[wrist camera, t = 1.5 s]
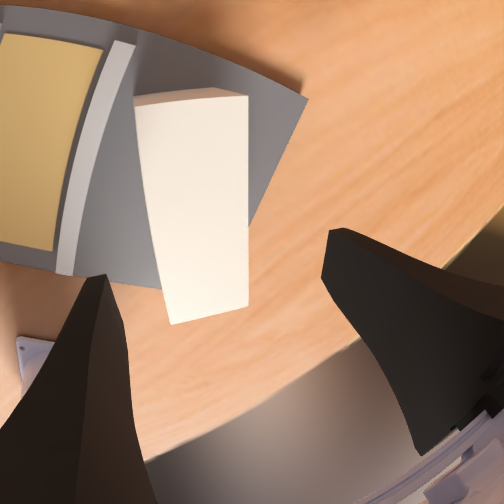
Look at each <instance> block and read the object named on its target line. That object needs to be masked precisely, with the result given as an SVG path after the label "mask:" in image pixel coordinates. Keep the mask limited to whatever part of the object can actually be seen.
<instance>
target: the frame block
mask: <svg viewBox="0 0 504 504" xmlns="http://www.w3.org/2000/svg"><path fill="white" fill-rule="evenodd" d="M133 101H134V113H135V124H136V134H137V143H138V152H139V160H140V168H141V175H142V182H143V189H144V196H145V202H146V209H147V215H148V221H149V227H150V232H151V238H152V243H153V249H154V254H155V259H156V264H157V269H158V273H159V278H160V283H161V287H162V291H163V296H164V300H165V304H166V308H167V312H168V316H169V320H170V324H171V325H172V324H177V323H181V322H186V321H190V320H194V319H198V318H203V317H207V316H211V315H215V314H219V313H223V312H227V311H231V310H235V309H239V308H243V307H247V306H248V95H244V94H240V93H236V92H231V91H227V90H223V89H219V88H214V87H211V88H198V89H187V90H177V91H168V92H160V93H153V94H146V95H139V96H133Z"/></svg>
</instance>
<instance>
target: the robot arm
mask: <svg viewBox="0 0 504 504" xmlns="http://www.w3.org/2000/svg"><path fill="white" fill-rule="evenodd" d="M321 279H322V281H323V283H324V285H325V286H326V288H327V290H328V292H329V294H330V295H331V297H332V299H333V300H334V302H335V303H336V305H337V306H338V307H339V309H340V310H341V311H342V313H343V314H344V315H345V317H346V318H347V319H348V321H349V322H350V323H351V325H352V326H353V327H354V329H355V330H356V331H357V333H358V334H359V335H360V337H361V338H362V339H363V341H364V342H365V343H366V345H367V346H368V347H369V349H370V350H371V352H372V353H373V355H374V356H375V358H376V360H377V361H378V363H379V365H380V367H381V369H382V370H383V372H384V374H385V376H386V378H387V380H388V382H389V383H390V386H391V387H392V390H393V392H394V394H395V396H396V398H397V400H398V403H399V405H400V407H401V409H402V412H403V414H404V416H405V419H406V422H407V425H408V427H409V430H410V433H411V436H412V439H413V443H414V446H415V449H416V450H417V451H418V453H419V454H420V456H423V455H424V454H426V453H427V452H429V451H430V450H431V449H433V448H434V447H435V446H437V445H438V444H439V443H441V442H442V441H443V440H444V439H446V438H447V437H448V436H450V435H451V434H452V433H453V432H454V431H455V430H457V429H459V431H460V432H459V433H458V434H457V435H456V436H454V437H453V438H452V439H451V440H449V441H448V442H447V443H446V444H444V445H443V446H442V447H441V448H439V449H438V450H437V451H435V452H434V453H433V454H431V455H430V456H429V457H427V458H426V459H424V460H423V461H422V462H420V463H419V464H417V465H416V466H414V467H413V468H412V469H410V470H408V471H407V472H405V473H404V474H403V475H401V476H399V477H398V478H396V479H395V480H393V481H391V482H390V483H388V484H386V485H385V486H383V487H381V488H380V489H378V490H376V491H375V492H373V493H371V494H369V495H367V496H366V497H364V498H362V499H360V500H358V501H356V502H354V503H353V504H396V503H398V502H399V501H401V500H402V499H404V498H405V497H407V496H408V495H410V494H411V493H413V492H414V491H416V490H417V489H419V488H420V487H421V486H423V485H424V484H425V483H427V482H428V481H430V480H431V479H432V478H433V477H435V476H436V475H437V474H439V473H440V472H441V471H442V470H444V469H445V468H446V467H447V466H449V465H450V464H451V463H452V462H453V461H455V460H456V459H457V458H458V457H459V456H461V455H462V456H461V457H462V460H461V462H460V463H459V464H458V465H456V466H455V467H453V468H452V469H450V470H449V471H448V472H446V473H445V474H443V475H442V476H441V477H439V478H438V479H437V480H435V481H434V482H433V483H432V484H431V485H430V486H429V487H428V488H426V489H425V490H424V492H423V494H424V495H425V497H426V498H427V499H426V500H424V501H423V502H421V503H420V504H504V287H503V286H499V285H494V284H489V283H485V282H481V281H477V280H474V279H470V278H466V277H463V276H460V275H456V274H453V273H451V272H448V271H445V270H443V269H440V268H437V267H434V266H432V265H429V264H427V263H425V262H422V261H420V260H418V259H415V258H413V257H411V256H408V255H406V254H404V253H402V252H400V251H397V250H395V249H393V248H391V247H389V246H387V245H385V244H382V243H380V242H378V241H376V240H374V239H371V238H369V237H367V236H365V235H362V234H360V233H358V232H355V231H352V230H350V229H347V228H339V229H333V230H329V234H328V240H327V246H326V252H325V258H324V263H323V269H322V275H321ZM22 346H23V347H22ZM16 347H17V354H18V361H19V367H20V373H21V379H22V392H21V400H20V402H19V403H18V405H17V406H16V408H15V409H14V411H13V412H12V414H11V415H10V417H9V418H8V419H7V421H6V422H5V423H4V425H3V426H2V427H1V429H0V504H158V503H157V501H156V498H155V495H154V492H153V489H152V486H151V483H150V481H149V478H148V474H147V471H146V468H145V464H144V461H143V457H142V454H141V450H140V446H139V442H138V438H137V434H136V430H135V424H134V418H133V410H132V400H131V388H130V375H129V361H128V349H127V343H126V337H125V330H124V324H123V320H122V318H121V315H120V312H119V309H118V307H117V304H116V301H115V298H114V295H113V292H112V289H111V286H110V283H109V280H108V277H107V274H102V275H97V276H92V277H87V279H86V281H85V282H84V284H83V286H82V288H81V290H80V292H79V295H78V297H77V299H76V301H75V303H74V305H73V307H72V309H71V311H70V313H69V315H68V317H67V319H66V321H65V323H64V325H63V327H62V329H61V331H60V333H59V335H58V337H57V339H56V341H55V342H51V341H45V340H39V339H34V338H28V337H23V336H19V337H17V340H16Z"/></svg>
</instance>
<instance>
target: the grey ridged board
mask: <svg viewBox="0 0 504 504" xmlns="http://www.w3.org/2000/svg"><path fill="white" fill-rule="evenodd" d="M211 87H214V88H219V89H223V90H227V91H231V92H236V93H240V94H244V95H248V228H249V226H250V223H251V221H252V219H253V217H254V215H255V213H256V210H257V208H258V206H259V204H260V202H261V200H262V197H263V195H264V193H265V191H266V189H267V187H268V185H269V182H270V180H271V178H272V176H273V174H274V172H275V170H276V167H277V165H278V163H279V161H280V159H281V157H282V155H283V153H284V150H285V148H286V146H287V144H288V142H289V140H290V138H291V136H292V133H293V131H294V129H295V127H296V125H297V123H298V121H299V119H300V117H301V114H302V112H303V110H304V108H305V106H306V104H307V102H308V100H309V99H307V98H306V97H304V96H302V95H300V94H298V93H296V92H294V91H292V90H291V89H289V88H287V87H285V86H283V85H281V84H279V83H277V82H275V81H273V80H271V79H269V78H267V77H264V76H262V75H260V74H258V73H256V72H254V71H252V70H249V69H247V68H245V67H243V66H240V65H238V64H236V63H234V62H231V61H229V60H226V59H224V58H222V57H219V56H217V55H214V54H212V53H209V52H207V51H204V50H201V49H199V48H196V47H193V46H191V45H188V44H185V43H182V42H180V41H177V40H174V39H171V38H168V37H165V36H162V35H158V34H155V33H152V32H149V31H145V30H142V29H138V28H135V27H131V26H128V25H124V24H120V23H116V22H112V21H108V20H104V19H99V18H95V17H90V16H85V15H80V14H75V13H69V12H63V11H57V10H50V9H42V8H34V7H25V6H13V5H0V261H3V262H8V263H13V264H17V265H22V266H27V267H32V268H37V269H42V270H48V271H53V272H56V273H55V274H61V275H66V276H72V275H75V276H80V277H86V278H87V277H92V276H97V275H102V274H107V277H108V280H109V281H110V282H116V283H122V284H129V285H135V286H142V287H148V288H155V289H162V287H161V283H160V278H159V273H158V269H157V264H156V259H155V254H154V249H153V243H152V238H151V232H150V227H149V221H148V215H147V209H146V202H145V196H144V189H143V182H142V175H141V168H140V160H139V152H138V143H137V134H136V124H135V113H134V101H133V96H139V95H146V94H153V93H160V92H168V91H177V90H187V89H198V88H211Z"/></svg>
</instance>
